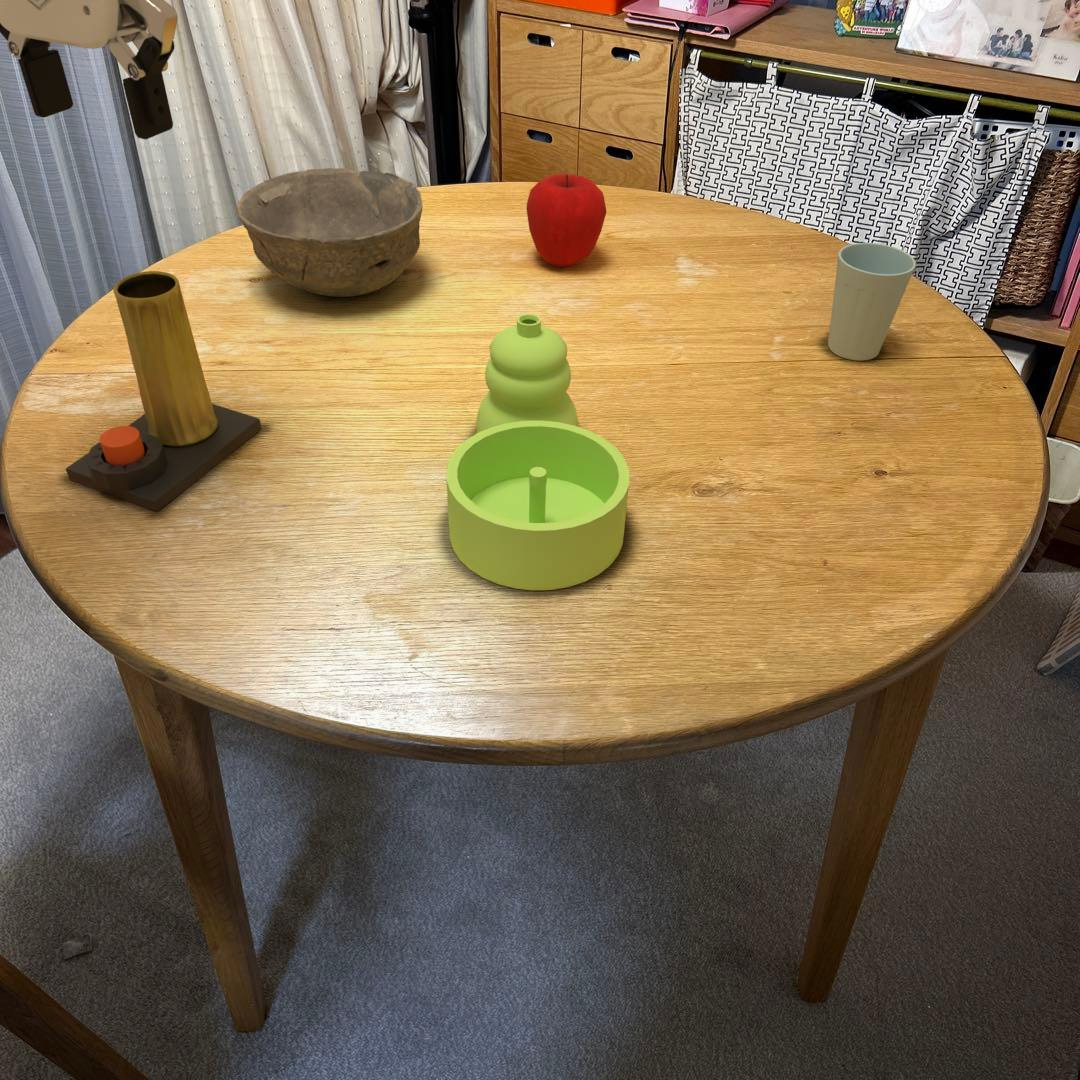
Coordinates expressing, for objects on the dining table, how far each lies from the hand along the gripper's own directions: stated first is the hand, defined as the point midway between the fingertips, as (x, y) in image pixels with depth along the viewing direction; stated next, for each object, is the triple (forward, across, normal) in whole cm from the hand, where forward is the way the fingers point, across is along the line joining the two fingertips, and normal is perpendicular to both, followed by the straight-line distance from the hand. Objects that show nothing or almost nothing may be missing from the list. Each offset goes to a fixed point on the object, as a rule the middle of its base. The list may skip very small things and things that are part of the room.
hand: (104, 122), depth 71 cm
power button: (+26, 0, -7) cm, 27 cm away
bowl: (+28, -6, +34) cm, 44 cm away
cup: (+28, +52, +46) cm, 75 cm away
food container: (+28, +32, +8) cm, 44 cm away
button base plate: (+28, 0, -2) cm, 28 cm away
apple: (+28, +15, +52) cm, 61 cm away
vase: (+27, 0, 0) cm, 27 cm away
